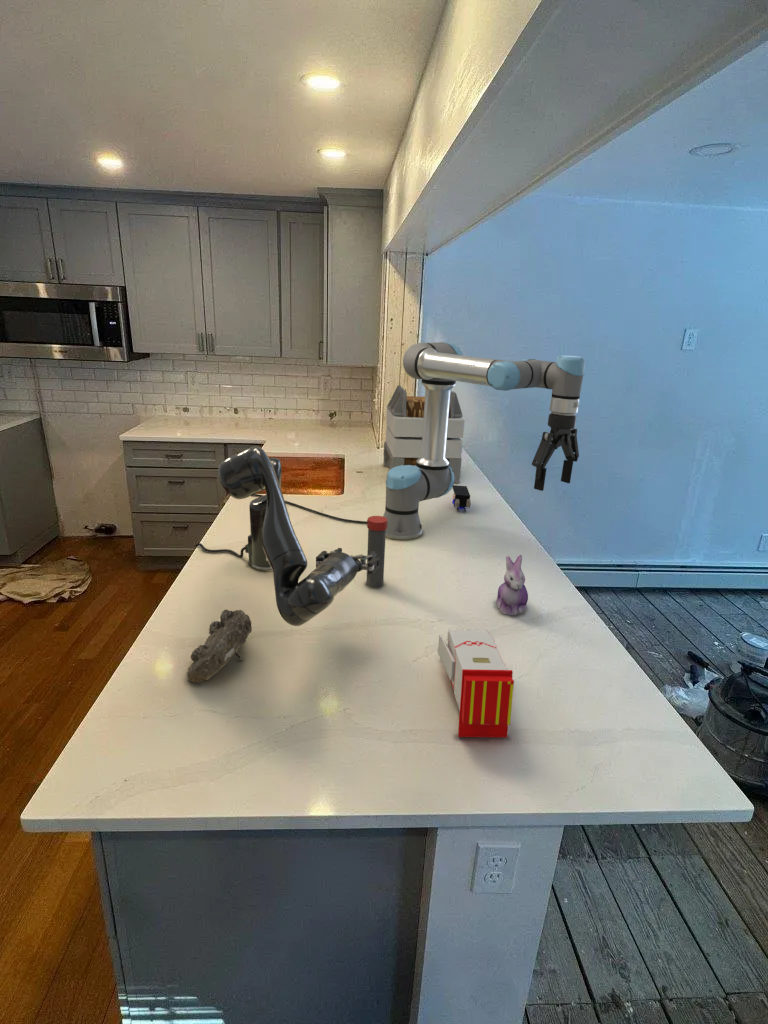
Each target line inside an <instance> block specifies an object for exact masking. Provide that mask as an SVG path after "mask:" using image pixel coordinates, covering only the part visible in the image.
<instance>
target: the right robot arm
mask: <svg viewBox="0 0 768 1024" xmlns="http://www.w3.org/2000/svg"><path fill="white" fill-rule="evenodd" d="M585 365H586V360H585V358H584V357H582V356H578V355H566V354H565V355H564V354H563V355H558V356H557V357H556V360H555V361H549V360H541V359H536V358H524V359H521V360H506V359H505V360H504V359H503V360H502V359H496V358H487V357H479V356H471V355H464V354H463V352H462V350H461V349H460V347H459V346H457V345H456V344H455V343H451V342H445V341H443V342H442V341H441V342H440V341H439V342H438V341H437V342H417V343H414V344H412V345H411V346H409V347H408V348H407V350H406V351H405V353H404V355H403V358H402V366H403V369H404V372H405V373H406V374H407V375H408V376H409V377H411V378H412V379H415V380H421V385H422V386H423V387H424V389H425V392H424V397H425V404H424V419H423V434H422V449H421V457H420V458H418V459H417V461H416V466H413V465H401V466H396V467H394V468H392V469H390V468H389V470H388V472H387V474H386V479H385V504H384V505H385V507H384V508H385V509H384V513H383V515H382V516H383V517H385V518H387V522H388V525H387V529H386V537H385V538H387V539H389V540H395V541H410V540H415V539H418V538H420V537H421V536H422V535H423V525H422V524H421V518H420V515H419V507H420V506H419V505H420V502H423V501H427V500H431V499H437V498H440V497H443V496H446V495H448V493H450V492H451V490H453V485H455V483H454V473H452V469H451V467H450V466H449V462H448V461H447V459H446V458H445V453H446V441H447V428H448V416H449V404H450V392H451V391H452V389H453V388H454V387H455V386H456V384H457V382H461V383H465V384H473V385H479V386H487V387H491V388H492V389H494V390H496V391H503V392H504V391H511V390H520V389H532V388H533V389H534V388H539V389H546V390H551V398H550V404H549V413H548V418H547V419H548V420H547V426H548V427H549V428H550V431H549V432H548V431H543V432H542V435H541V440H540V442H539V445H538V447H537V449H536V452H535V454H534V457H533V460H532V461H531V466H533V467H535V475H534V477H535V478H534V485H533V489H534V490H537V491H539V492H543V491H544V489H545V484H546V483H545V482H546V476H547V468H546V466H547V465H548V463H549V461H550V459H551V457H552V456H553V454H554V453H555V451H556V450H557V449H558V448H560V447H561V449H562V452H563V455H564V458H565V459H563V463H562V468H561V469H562V470H561V475H560V482H562V483H566V484H571V478H572V472H573V466H574V463H576V462H578V461H579V457H580V453H579V444H578V428H576V423H577V419H578V416H577V414H578V412H579V411H578V410H579V406H580V397H581V391H582V385H583V380H584V376H585ZM264 495H265V494H264ZM264 495H263V494H258V493H255V494H253V495H252V496H255V497H258V498H259V497H262V496H264ZM285 504H289V505H291V506H293V507H297V508H300V509H303V510H305V511H309V512H311V513H315V514H318V515H321V516H324V517H328V518H330V519H333V520H338V521H341V522H342V521H343V522H348V523H355V524H366V525H367V520H366V521H365V520H357V519H348V518H342V517H337V516H333V515H331V514H327V513H324V512H320V511H318V510H315V509H312V508H309V507H305V506H302V505H300V504H297V503H294V502H292V501H287V500H285Z"/></svg>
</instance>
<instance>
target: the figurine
mask: <svg viewBox="0 0 768 1024" xmlns="http://www.w3.org/2000/svg"><path fill="white" fill-rule="evenodd" d="M522 562H523V555H522V554H519V555H518V556H517V557H516V559H515V561H513V560H512V558H511V556H509V555H506V556H505V566H506V567H505V569H506V571H505V573H504V576H503V581H504V582H502V584H500V585H499V586H498V589H497V598H496V607H497V608H498V610H500V612H501V614H503V615H508V616H516V615H518V614H523V612H524V611H525V610H526V607H527V603H528V601H529V594H528V590H527V587H526V585H525V583H526V576H525V574H524V571H523V569H522V564H523V563H522Z"/></svg>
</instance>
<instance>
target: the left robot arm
mask: <svg viewBox="0 0 768 1024" xmlns="http://www.w3.org/2000/svg"><path fill="white" fill-rule="evenodd" d="M282 468H283V467H282V462H281V459H280V458H278V457H269V456H268V454H267V453H266V452H265V450H264V449H263V448H262V447H261V446H258V445H255V446H251V447H249V448H246V449H243V450H242V451H240V452H237V453H236V454H233V455H231V456H228V457H227V458H225V459H223V460H222V461H221V462H220V464H219V465H218V469H217V472H218V480H219V482H220V484H221V487H222V488H223V489H224V491H225V492H226V493H227V494H228V495H229V497H231V498H233V499H235V500H243V499H246V498H248V497H251V496H253V494H258V493H259V492H262V491H265V494H264V496H262V497H259V496H258V497H256V498H254V499H253V500H251V501H250V502H249V530H250V534H249V535H248V536H247V543H246V544H245V545H244V546H243V547H242V548H241V549H240V554H238V553H237V552H235V551H234V550H232V549H228V548H227V549H226V548H222V549H221V548H220V549H208V548H206V547H205V546H204V545H203V543H201V542H198V543H196V544H195V545H194V547H196V548H198V547H200V548H201V549H202V550H203V551H204V552H206V553H230V554H232V555H234V556H235V557H237V558H239V559H241V558H243V557H244V551H245V553H246V554H248V566H249V567H251V568H253V569H254V570H257V571H263V572H267V571H268V572H269V571H272V577H273V586H274V594H275V595H274V597H275V602H276V607H277V611H278V613H279V615H280V616H281V618H282V620H284V622H286V623H287V624H288V625H290V626H292V627H300V626H303V625H306V624H307V622H309V621H310V620H312V619H313V618H314V617H316V616H318V615H319V614H320V613H322V612H323V611H325V609H327V608H328V607H330V605H331V604H333V602H334V600H335V597H336V596H337V595H338V594H339V593H341V592H342V591H343V590H344V589H346V587H347V586H348V585H349V584H350V583H351V582H352V581H353V580H354V579H355V578H356V576H357V574H358V573H359V572H362V571H366V574H367V573H368V574H372V573H374V572H375V571H376V570H377V569H378V568H379V563H380V557H378V556H377V554H376V553H375V551H372V552H371V553H370V554H369V555H364V554H358V555H357V554H356V555H349V554H348V553H346V552H343V548H342V547H338V548H336V549H334V550H331V551H329V552H328V551H327V550H322V551H321V552H320V553H318V555H316V557H315V568H314V569H313V570H311V572H310V573H309V574H308V575H306V577H304V578H303V579H301V580H300V581H299V579H300V578H301V576H302V574H303V573H304V572H305V571H306V570H307V568H308V559H307V557H306V554H305V553H304V550H303V548H302V545H301V543H300V541H299V539H298V537H297V534H296V532H295V529H294V527H293V524H292V522H291V518H290V515H289V511H288V508H287V503H285V501H286V500H285V498H284V495H283V492H282V477H283V476H282V475H283V469H282ZM367 559H368V561H367Z"/></svg>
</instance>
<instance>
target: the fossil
mask: <svg viewBox="0 0 768 1024" xmlns="http://www.w3.org/2000/svg"><path fill="white" fill-rule="evenodd" d="M219 619H220V620H216V621H213V622H211V623H210V624H209V629H208V631H209V632H208V634H209V635H208V636H207V638H206V640H205V642H204V643H203V644H199V645H198V646H197V648H195V649H193V650H192V652H191V654H190V659H191V661H192V663H191V664H190V666H188V667H187V668H186V669H187V671H186V676H187V681H192V682H193V683H200V682H204V681H208V680H210V679H211V678H212V677H213V676H214V675H216V673H218V672H219V671H220V670H221V669H222V668H223V667H224V666H225V665H226V664H227V663H229V662H230V660H231V658H232V657H233V656H234V655H235V656H236V657H237V658H238V659H239V660H241V659H242V656H241V655H240V654H239V653H238V650H239V649H240V647H244V646H243V645H245V643H246V642H247V639H248V637H249V635H250V634H251V633H252V631H253V627H252V624H253V623H252V620H251V618H250V616H249V614H248V613H245V612H244V611H243V610H242V609H235V610H229V609H223V610H222V611H221V613H220V616H219Z"/></svg>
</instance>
